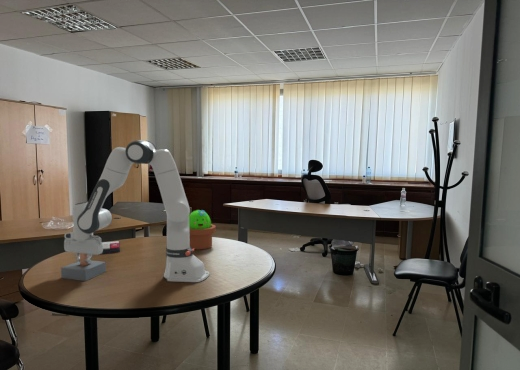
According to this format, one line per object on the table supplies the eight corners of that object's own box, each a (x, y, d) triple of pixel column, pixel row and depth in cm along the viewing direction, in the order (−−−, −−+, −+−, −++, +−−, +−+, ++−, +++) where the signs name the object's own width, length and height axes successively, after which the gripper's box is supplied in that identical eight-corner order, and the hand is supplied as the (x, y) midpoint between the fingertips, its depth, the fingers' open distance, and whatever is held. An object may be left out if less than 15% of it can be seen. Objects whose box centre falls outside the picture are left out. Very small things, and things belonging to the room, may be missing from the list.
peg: (89, 270, 171) (89, 246, 170) (84, 272, 168) (83, 248, 167) (84, 269, 172) (83, 246, 171) (78, 271, 168) (78, 247, 168)
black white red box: (100, 248, 206) (101, 241, 220) (100, 255, 206) (101, 248, 220) (119, 247, 210) (119, 240, 224) (119, 253, 211) (119, 246, 224)
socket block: (105, 271, 175) (105, 262, 174) (85, 280, 161) (85, 270, 161) (83, 268, 178) (83, 259, 178) (61, 277, 165) (61, 267, 165)
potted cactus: (180, 243, 234) (180, 207, 232) (212, 241, 240) (212, 206, 238) (183, 251, 213) (183, 212, 211) (218, 249, 219) (218, 211, 217)
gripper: (105, 234, 169) (106, 261, 170) (71, 231, 174) (72, 258, 175) (96, 237, 163) (97, 265, 164) (61, 234, 168) (62, 261, 169)
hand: (84, 261), depth 169 cm, fingers closed on peg, 3 cm apart
